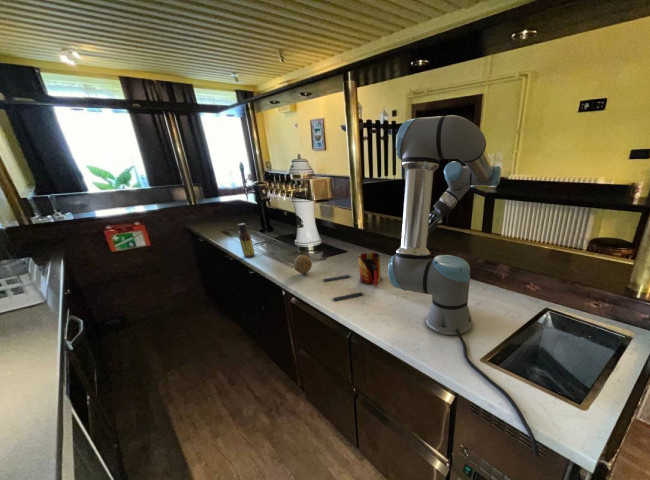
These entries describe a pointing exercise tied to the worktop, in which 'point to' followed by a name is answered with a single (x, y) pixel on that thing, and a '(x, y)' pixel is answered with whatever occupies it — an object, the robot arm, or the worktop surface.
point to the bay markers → (346, 295)
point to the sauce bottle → (245, 241)
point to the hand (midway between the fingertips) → (411, 245)
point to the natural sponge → (302, 264)
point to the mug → (369, 268)
